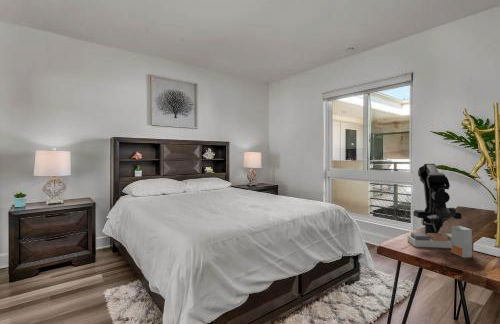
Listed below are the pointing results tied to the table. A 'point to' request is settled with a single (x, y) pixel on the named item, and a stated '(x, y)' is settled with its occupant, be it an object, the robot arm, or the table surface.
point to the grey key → (420, 236)
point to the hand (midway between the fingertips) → (437, 232)
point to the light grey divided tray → (429, 243)
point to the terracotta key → (437, 237)
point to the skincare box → (461, 241)
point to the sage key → (448, 236)
